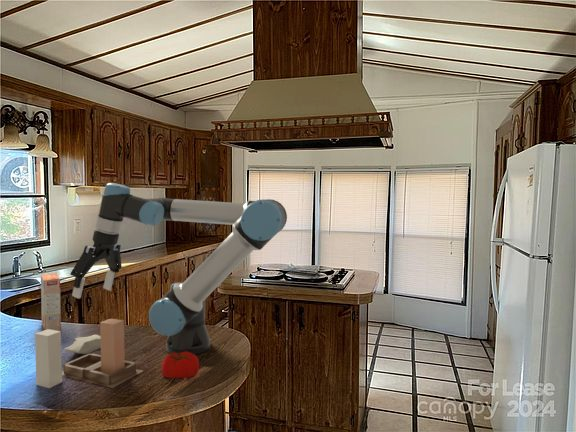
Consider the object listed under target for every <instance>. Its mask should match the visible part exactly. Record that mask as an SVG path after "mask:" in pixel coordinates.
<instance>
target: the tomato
mask: <svg viewBox="0 0 576 432" xmlns="http://www.w3.org/2000/svg"><path fill="white" fill-rule="evenodd" d="M199 371H200V361H199V357H198V356H197V354H192V353H190V352H187V351H184V352H181V353H179V354H178V353H169V354H167V355H166V356H165V357H164V359H163V360H162V362H161V375H162V376H163V377H165V378H167V379H174V378H175V379H181V378H183V380H185V379H188V378H192V377H193V378H194V377H195V376H197V374H198V372H199Z"/></svg>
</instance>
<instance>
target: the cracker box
mask: <svg viewBox="0 0 576 432" xmlns="http://www.w3.org/2000/svg"><path fill="white" fill-rule="evenodd" d="M40 294H41V297H40V298H41V302H40V303H41V326H42V329H43V331H44V330H47V329H50V330H56V331H61V329H62V328H61V327H62V326H61V325H62V324H61V322H62V321H61V319H62V317H61V316H62V315H61V278H60V277H59V276H58V274H57V273H56V272H54V273H44V274H43V273H42V274H40ZM61 332H62V331H61Z"/></svg>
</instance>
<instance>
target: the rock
mask: <svg viewBox="0 0 576 432" xmlns="http://www.w3.org/2000/svg"><path fill="white" fill-rule="evenodd" d="M97 350H101V338H100V334H99V335H98V334H97V333H96V334H92V335H89V336H80V337H75V338H74V341H73V342H72V344H71V345H69V346H66V347H64V348H63V351H65V352H69V353H70V352H71V353H73V354H80V355H87V354H92V352H95V351H97Z"/></svg>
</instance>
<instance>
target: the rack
mask: <svg viewBox="0 0 576 432" xmlns="http://www.w3.org/2000/svg"><path fill="white" fill-rule="evenodd" d="M142 372H144V370H142V369H139V368H138V369H137V363H136V362H135V361H130V360H125V368H123V369H121V370H119V371H117V372H115V373H113V374H107V373H103V372H101V354H96V353H92V352H91V353H88V354H83V355H82V356H80V357H77V358H75V359H73V360H70V361H68V362H66V363H64V364H63V369H62V377H66V378H70V379H75V380H78V381H83V382H86V383H90V384H93V385H94V384H95V385H99V386H103V387H106V388H107V387H108V388H111V389H115V387H117V386H119V385H121V384H123V383H124V382H126V381H128V380H130V379H132V378H133V377H136V376H137V375H139V374H140V373H142Z"/></svg>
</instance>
